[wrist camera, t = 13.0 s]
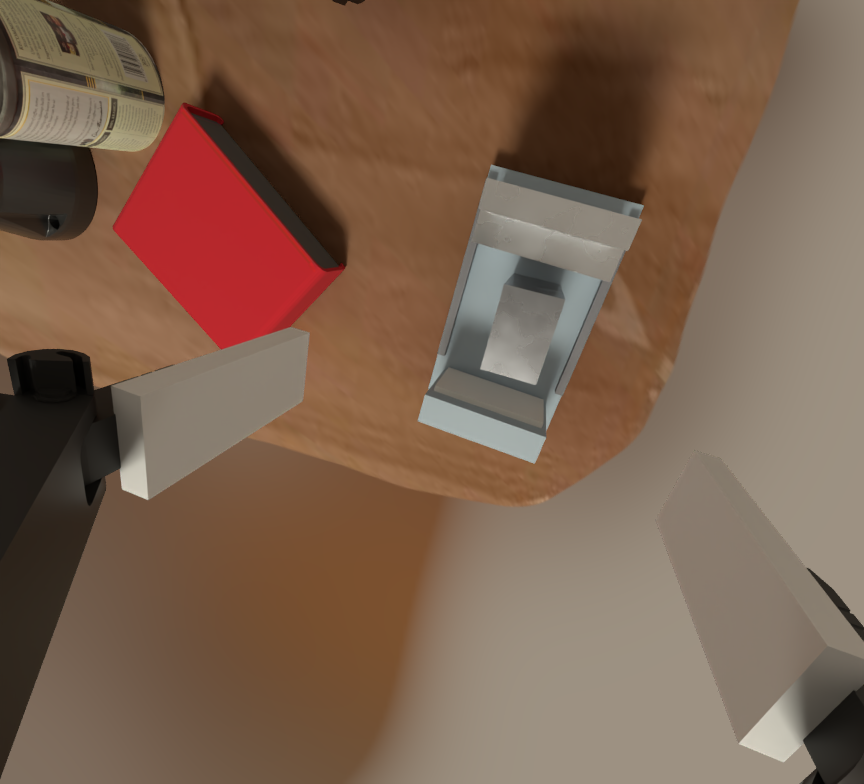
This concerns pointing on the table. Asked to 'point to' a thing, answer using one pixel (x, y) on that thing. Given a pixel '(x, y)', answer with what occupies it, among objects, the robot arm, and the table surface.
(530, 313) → the steel block
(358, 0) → the power plug
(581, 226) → the sliding jaw
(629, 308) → the table surface
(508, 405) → the vise base
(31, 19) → the coffee can
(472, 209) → the table surface
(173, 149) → the red device housing
